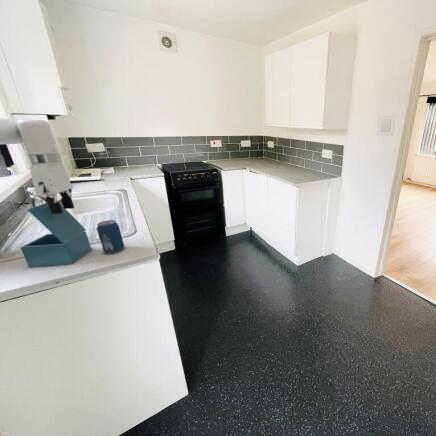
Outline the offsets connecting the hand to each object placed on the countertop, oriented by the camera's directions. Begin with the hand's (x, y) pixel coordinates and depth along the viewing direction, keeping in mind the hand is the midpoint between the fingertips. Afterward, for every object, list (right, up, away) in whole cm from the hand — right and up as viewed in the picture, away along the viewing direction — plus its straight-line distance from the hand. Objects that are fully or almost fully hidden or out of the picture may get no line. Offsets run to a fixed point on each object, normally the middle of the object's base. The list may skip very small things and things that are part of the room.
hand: (63, 210), depth 88 cm
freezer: (-6, -18, +6) cm, 20 cm away
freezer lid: (-3, -4, +1) cm, 5 cm away
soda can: (+11, -16, +11) cm, 22 cm away
